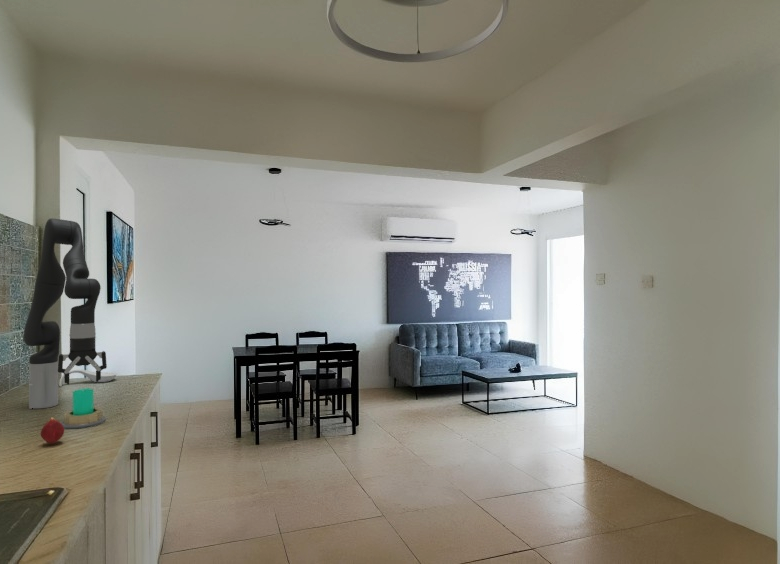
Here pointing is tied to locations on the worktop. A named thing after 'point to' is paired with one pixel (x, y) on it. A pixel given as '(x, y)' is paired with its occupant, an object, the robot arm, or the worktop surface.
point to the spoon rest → (91, 376)
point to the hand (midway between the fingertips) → (82, 382)
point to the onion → (52, 431)
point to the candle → (83, 401)
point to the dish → (83, 424)
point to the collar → (82, 417)
